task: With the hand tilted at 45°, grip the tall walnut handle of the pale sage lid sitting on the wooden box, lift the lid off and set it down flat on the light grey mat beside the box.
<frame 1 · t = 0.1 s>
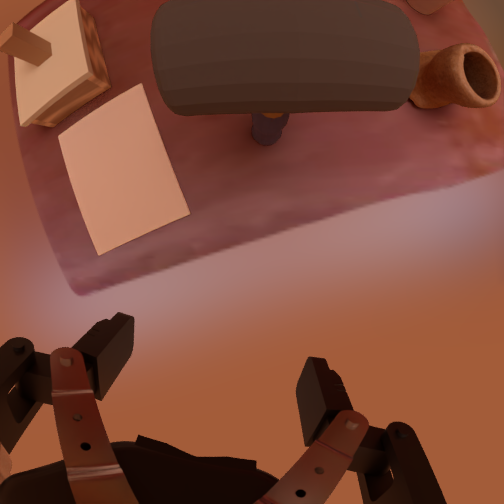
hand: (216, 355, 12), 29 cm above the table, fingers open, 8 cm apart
wooden box: (71, 69, 34), on the table
coffee cup: (418, 2, 30), on the table
mat: (115, 169, 38), on the table
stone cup: (431, 85, 34), on the table
rubber mallet: (266, 133, 37), on the table
lid: (49, 57, 27), point 7 cm above the table, touching wooden box
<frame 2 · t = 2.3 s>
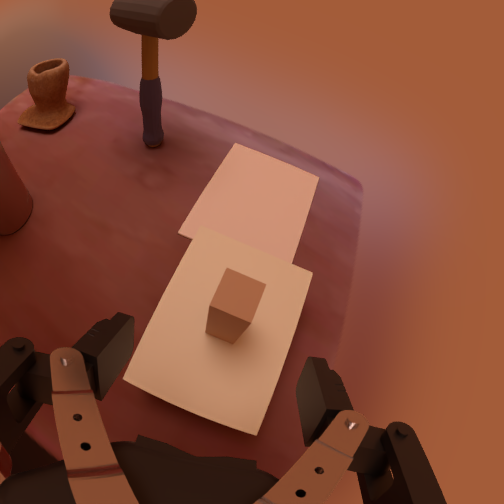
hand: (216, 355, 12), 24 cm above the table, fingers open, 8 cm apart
mat: (256, 201, 46), on the table
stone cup: (51, 117, 48), on the table
rubber mallet: (153, 143, 49), on the table
lid: (223, 328, 29), point 7 cm above the table, touching wooden box
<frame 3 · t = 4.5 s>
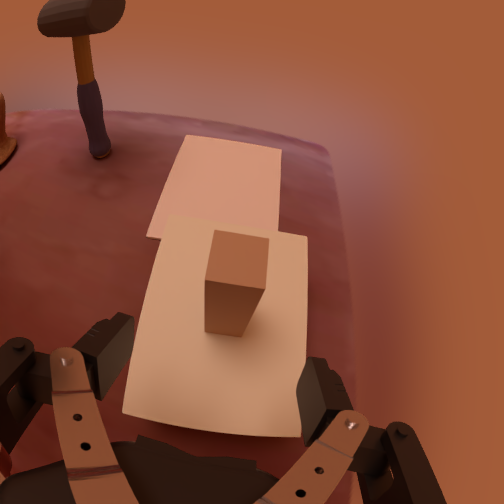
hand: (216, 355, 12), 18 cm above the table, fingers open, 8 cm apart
mat: (223, 186, 42), on the table
rubber mallet: (102, 154, 42), on the table
lid: (224, 322, 24), point 7 cm above the table, touching wooden box
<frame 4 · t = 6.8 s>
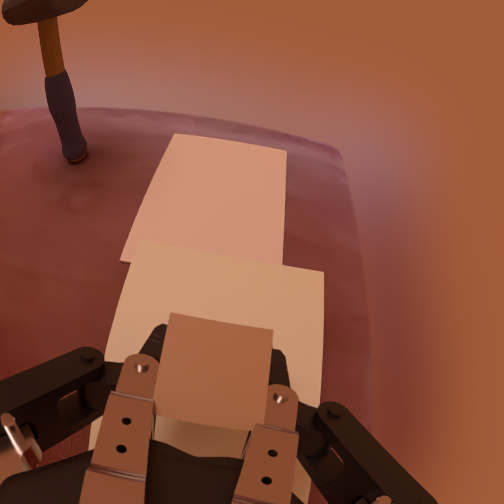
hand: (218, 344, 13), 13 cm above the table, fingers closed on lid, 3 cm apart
mat: (215, 195, 34), on the table
rubber mallet: (77, 157, 35), on the table
lid: (209, 391, 17), point 7 cm above the table, touching gripper, wooden box
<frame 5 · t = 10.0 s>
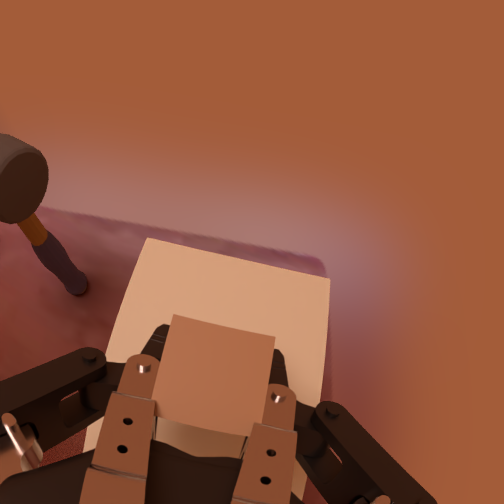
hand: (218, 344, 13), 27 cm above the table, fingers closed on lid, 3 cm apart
rubber mallet: (80, 287, 40), on the table
lid: (209, 392, 17), point 21 cm above the table, touching gripper
when the fingers open (9 cm above the table, at t = 13.4 s): lid drops 1 cm, resting on mat.
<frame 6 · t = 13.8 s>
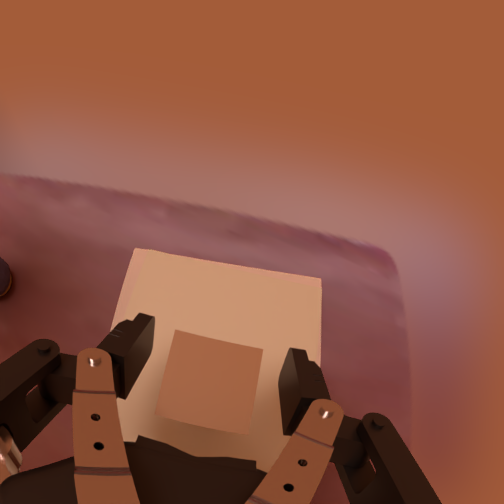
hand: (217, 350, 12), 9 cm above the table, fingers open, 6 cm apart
mat: (208, 392, 19), on the table
rubber mallet: (4, 285, 20), on the table
lid: (207, 394, 18), point 1 cm above the table, touching mat
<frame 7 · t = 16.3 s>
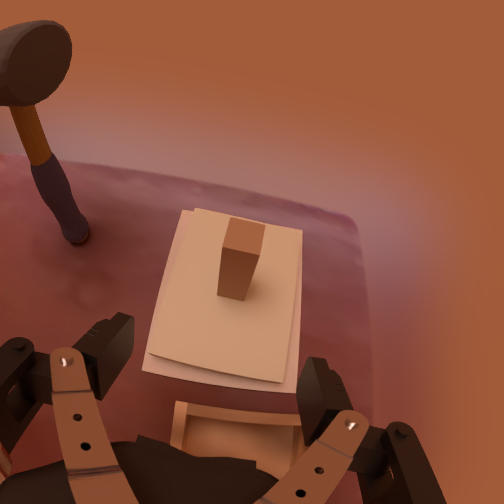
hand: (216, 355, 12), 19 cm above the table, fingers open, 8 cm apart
wooden box: (234, 484, 22), on the table
mat: (231, 294, 34), on the table
rubber mallet: (80, 236, 35), on the table
lid: (231, 291, 33), point 1 cm above the table, touching mat
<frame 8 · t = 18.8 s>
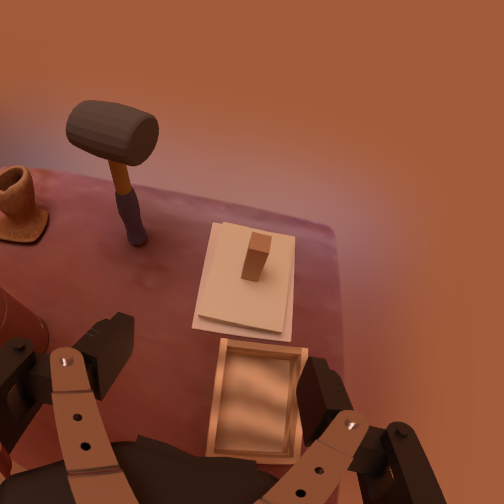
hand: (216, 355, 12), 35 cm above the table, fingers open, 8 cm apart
wooden box: (252, 404, 41), on the table
mat: (248, 278, 53), on the table
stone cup: (26, 224, 51), on the table
rubber mallet: (138, 240, 53), on the table
lid: (249, 276, 51), point 1 cm above the table, touching mat
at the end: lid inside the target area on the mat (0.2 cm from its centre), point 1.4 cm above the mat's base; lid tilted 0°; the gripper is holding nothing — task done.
